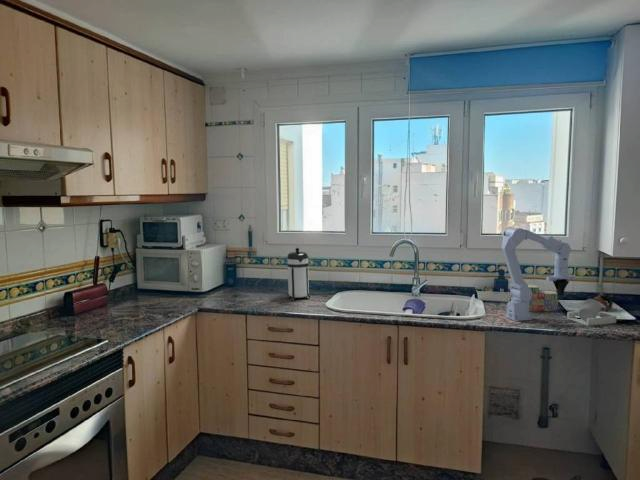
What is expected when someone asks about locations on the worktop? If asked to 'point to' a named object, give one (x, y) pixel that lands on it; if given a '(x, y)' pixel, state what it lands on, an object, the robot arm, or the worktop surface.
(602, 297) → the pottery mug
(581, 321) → the tray
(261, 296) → the worktop surface
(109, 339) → the worktop surface
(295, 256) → the coffee press
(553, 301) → the stack of blocks
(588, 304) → the can
